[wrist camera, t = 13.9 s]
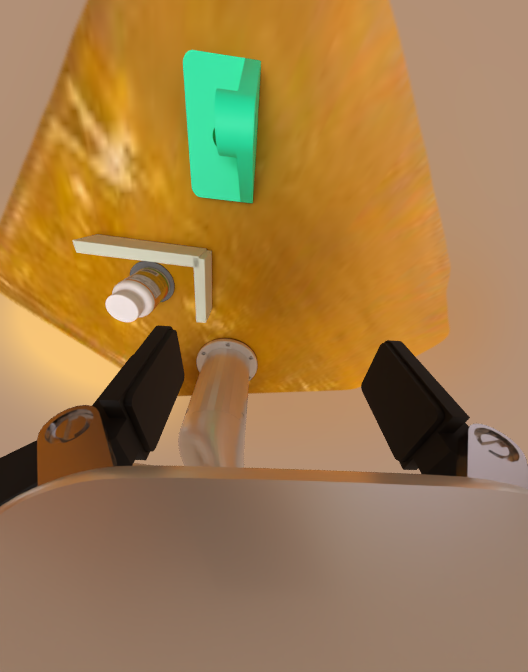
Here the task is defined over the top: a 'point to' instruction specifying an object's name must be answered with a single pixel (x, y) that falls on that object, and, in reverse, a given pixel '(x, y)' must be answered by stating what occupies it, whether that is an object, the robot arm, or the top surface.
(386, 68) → the top surface
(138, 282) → the supplement bottle
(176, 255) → the corner walls
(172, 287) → the pad
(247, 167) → the camera mount
